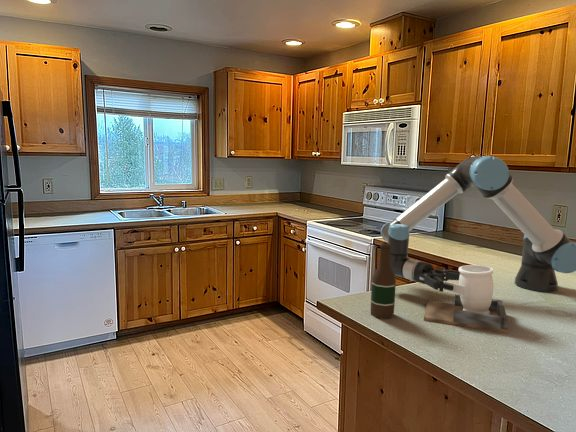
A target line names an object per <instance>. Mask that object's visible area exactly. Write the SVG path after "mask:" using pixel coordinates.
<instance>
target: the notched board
mask: <svg viewBox="0 0 576 432" xmlns="http://www.w3.org/2000/svg"><path fill="white" fill-rule="evenodd" d="M463 308H464V307H463V305H462V303H461V299H460V294H457V293H455V294H454V303H450V302H442V301H436V300H435V301H434V300H427V302H426V306H425V311H424V314H423V321H427V322H435V323H441V324H446V325H447V324H448V325H453V326H459V327H466V328H472V329H477V330H478V329H479V330H484V331H491V332H495V333H496V332H497V333H504V334H508V332H509V329H508V315H507V312H506V308H505V304H504V301H503V300H502V299H501V300H500V299H494V298H492V302H491V305H490V307H489V309H488V310H489V311H490V314H484V313H477V312H470V311H463Z"/></svg>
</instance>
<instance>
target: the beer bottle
mask: <svg viewBox="0 0 576 432" xmlns="http://www.w3.org/2000/svg"><path fill="white" fill-rule="evenodd" d="M379 247H380V248H379V259H378V265H377V268H376V270H375V271H374V273H373V274H372V278H371V292H370V293H371V294H370V295H371V296H370V315H371V316H373V317H374V318H376V319H383V320H385V319H387V320H388V319H392V318H393V316H394V313H395V302H396V283H397V280H396V279H397V278H396V277H397V276H395V274H394V272H393V270H392V268H391V254H390V248H391V244H390V243H387V242H381V243H380V244H379Z"/></svg>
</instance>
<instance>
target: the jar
mask: <svg viewBox="0 0 576 432" xmlns="http://www.w3.org/2000/svg"><path fill="white" fill-rule="evenodd" d="M458 271H459V272H460V276H459V280H458V284H459V285H463V286H465V291H464V295H462V294H459V295H460V299H461V303H462V305H463V307H464V308H463V311H470V312H477V313H484V314H490V311H489V310H488V309H489V307H490V305H491V302H492V299H493V295H494V279H493V276H492V275H493V274H494V269H493V268H492V267H490V266H488V265H487V266H486V265H482V264H481V265H479V264H467V265H466V264H465V265H462V266H459V267H458Z"/></svg>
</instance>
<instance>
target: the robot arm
mask: <svg viewBox="0 0 576 432" xmlns="http://www.w3.org/2000/svg"><path fill="white" fill-rule="evenodd" d="M509 172H510V171H509V167H508V165H507V164H506V162H505V161H504V160H502V159H501V158H499V157H495V156H493V155H483V156H482V155H481V156H477V155H475V156H469V157H467V158H465V159H464V160H462V161H461V162H460V163H459V164H457V165H456V166H455V167H454V168H453V169H451V170H450V171H449V172H448V173H447V174H445V178H444V179H443V180H442V181H441V182H439V183H438V184H437V185H435V186H434V187H433V188H432V189H430V190H429V191H428V192H427V193H425V194H424V195H423V196H422V197H420V198H419V199H418V200H416V201H415V202H414V203H413V204H412V205H411V206H409V207H408V208H407V209H406V210H404V211H403V212H402V213H401V214H400V215H398V216H397V217H396V218H394V219H393V220H391V222H387V223H384V224H383V225H382V227H381V228H380V234H381V238H382V239H383V241H385V243H390V244H391V248H390V254H391V268H392V270H393V272H394V274H395V277H399V278H403V279H406V280H409V281H410V282H417V283H420V284H423V285H427V286H428V287H430V288H431V289H434V290H435V291H437V290H439V292H444V290H445V291H448V292H452V293H455V294H457V295H460V294H462V295H464V291H465V286H463V285H459V283H454V282H451V281H459V276H460V272H459V270H453V269H446V268H440V269H439V268H438V269H434V266H433V265H432V264H431V263H428V262H425V261H420V260H418V259H412V258H408V257H409V256H408V255H409V241H410V232H411V231H412V230H413V229H414V228H416V227H418V225H419V224H421V223H422V222H424V221H425V220H426V219H427V218H428V217H430V216H431V215H432V214H434V213H435V212H436V211H438V210H439V209H440V208H441V207H442V206H444V205H446V203H447V202H449V201H450V200H451V199H453V198H454V197H455V196H456V195H458V194H463V193H465V192H466V191H468V190H469V189H471V188H475V189H476V191H478V192H479V194H481V196H482V197H483V198H484V199H488V200H492V201H493V202H494V203H495V204H496V205H497V206H498V208H500V210H501V211H502V212H503V213H504V214H505V215H506V216H507V217H508V218H509V219H510V221H512V223H513V224H514V225H515V226H516V227H517V228H518V229H519V230H520V232H522V233H523V239H522V241H523V243H522V254H521V264H520V267H519V270H518V272H517V273H516V275H515V277H514V284H515V285H516V286H518V288H519V287H520V288H521V289H522V288H523V289H526V290H531V291H535V292H549V293H550V292H556V291H558V286H559V283H558V280H557V275H556V272H558V273H561V274H562V273H563V274H572V273H574V272H576V242H575V241H571V240H570V239H569V238H568V236H567V235H566V234H565V233H564V232H563V231H562V230H561V229H558V228H557V229H554V228H553V227H552V226H551V225H550V224H549V222H548V221H547V220H546V219H545V218H544V217H543V216H542V215H541V213H540V212H539V211H538V210H537V209H536V208H535V207H534V206H533V205H532V203H530V202H529V201H528V199H527V198H526V197H525V196H524V195H523V194H522V192H520V190H519V189H518V188H517V187H516V186H515V185H514V184H513V181H514V178H513V175H512V174H510V173H509Z"/></svg>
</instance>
